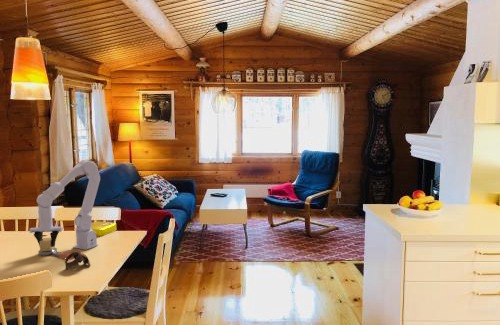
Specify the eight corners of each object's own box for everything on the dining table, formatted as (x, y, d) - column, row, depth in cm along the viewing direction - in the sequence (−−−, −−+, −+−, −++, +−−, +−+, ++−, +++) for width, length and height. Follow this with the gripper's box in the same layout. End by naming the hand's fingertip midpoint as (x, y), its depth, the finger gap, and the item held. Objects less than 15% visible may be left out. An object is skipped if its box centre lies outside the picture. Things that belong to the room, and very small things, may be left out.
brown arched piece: (93, 269, 175) (83, 256, 171) (72, 281, 173) (61, 268, 169) (90, 254, 185) (81, 242, 181) (71, 265, 183) (61, 253, 179)
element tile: (97, 228, 241) (96, 220, 241) (118, 230, 236) (117, 222, 236) (78, 235, 227) (78, 226, 227) (100, 237, 222) (100, 229, 222)
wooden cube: (54, 247, 198) (54, 237, 198) (51, 250, 193) (50, 240, 193) (44, 247, 198) (43, 238, 197) (40, 251, 193) (39, 241, 192)
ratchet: (80, 255, 192) (80, 246, 191) (66, 261, 185) (66, 251, 184) (49, 249, 201) (48, 240, 200) (34, 254, 194) (34, 245, 193)
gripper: (64, 216, 198) (65, 243, 200) (33, 217, 197) (35, 244, 198) (59, 219, 191) (60, 247, 193) (26, 221, 190) (28, 249, 191)
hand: (47, 246), depth 195 cm, fingers closed on wooden cube, 5 cm apart
